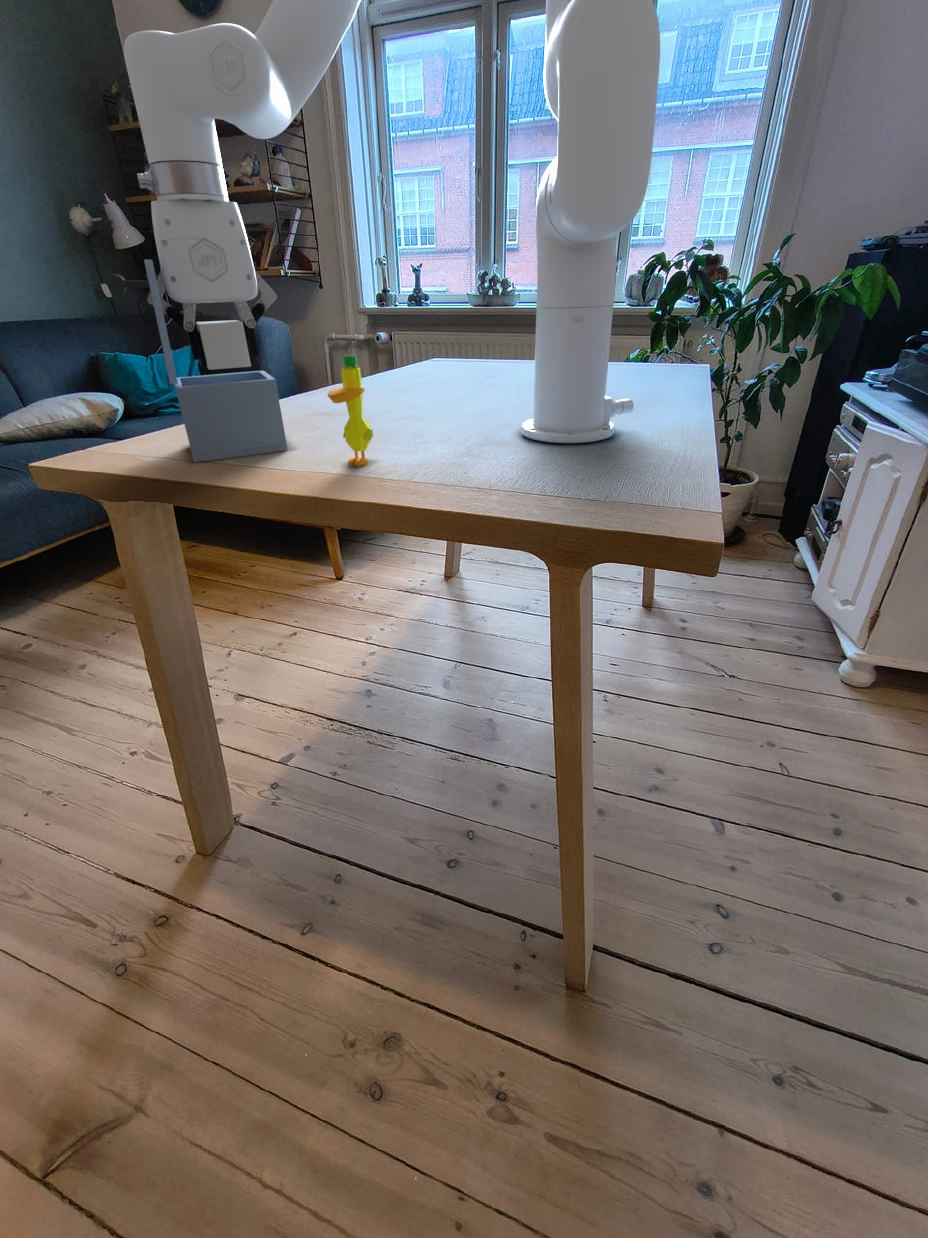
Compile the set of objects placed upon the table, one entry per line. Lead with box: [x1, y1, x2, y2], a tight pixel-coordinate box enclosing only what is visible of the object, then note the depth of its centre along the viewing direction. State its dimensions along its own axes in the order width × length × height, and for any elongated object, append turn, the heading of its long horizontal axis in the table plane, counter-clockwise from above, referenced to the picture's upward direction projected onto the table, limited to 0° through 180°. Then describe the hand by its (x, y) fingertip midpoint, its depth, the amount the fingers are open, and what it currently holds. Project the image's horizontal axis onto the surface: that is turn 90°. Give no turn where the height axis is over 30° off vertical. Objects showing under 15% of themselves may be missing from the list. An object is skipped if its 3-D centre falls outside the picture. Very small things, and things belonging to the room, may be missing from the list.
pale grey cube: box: [195, 319, 252, 370], centre depth 74 cm, size 5×5×5 cm
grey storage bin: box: [173, 370, 288, 463], centre depth 78 cm, size 12×10×9 cm
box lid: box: [106, 259, 178, 385], centre depth 70 cm, size 12×10×5 cm
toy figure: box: [326, 355, 374, 467], centre depth 68 cm, size 7×4×12 cm, turn 153°
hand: (227, 362), depth 75 cm, fingers closed on pale grey cube, 5 cm apart
